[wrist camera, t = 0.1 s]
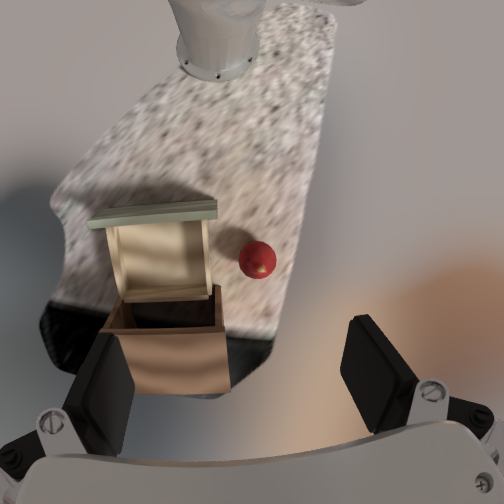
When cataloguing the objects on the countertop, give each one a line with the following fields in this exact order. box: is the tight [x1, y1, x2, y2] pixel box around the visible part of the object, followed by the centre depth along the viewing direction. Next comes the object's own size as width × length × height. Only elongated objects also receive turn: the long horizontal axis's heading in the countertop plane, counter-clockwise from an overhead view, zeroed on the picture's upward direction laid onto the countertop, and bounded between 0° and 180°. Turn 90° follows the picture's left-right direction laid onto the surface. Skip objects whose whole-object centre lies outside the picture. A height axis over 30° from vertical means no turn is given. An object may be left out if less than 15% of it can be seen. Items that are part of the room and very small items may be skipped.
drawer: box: [87, 200, 218, 303], centre depth 43 cm, size 15×19×8 cm
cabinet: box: [99, 286, 231, 394], centre depth 46 cm, size 12×19×14 cm
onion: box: [238, 241, 276, 279], centre depth 45 cm, size 6×6×8 cm
